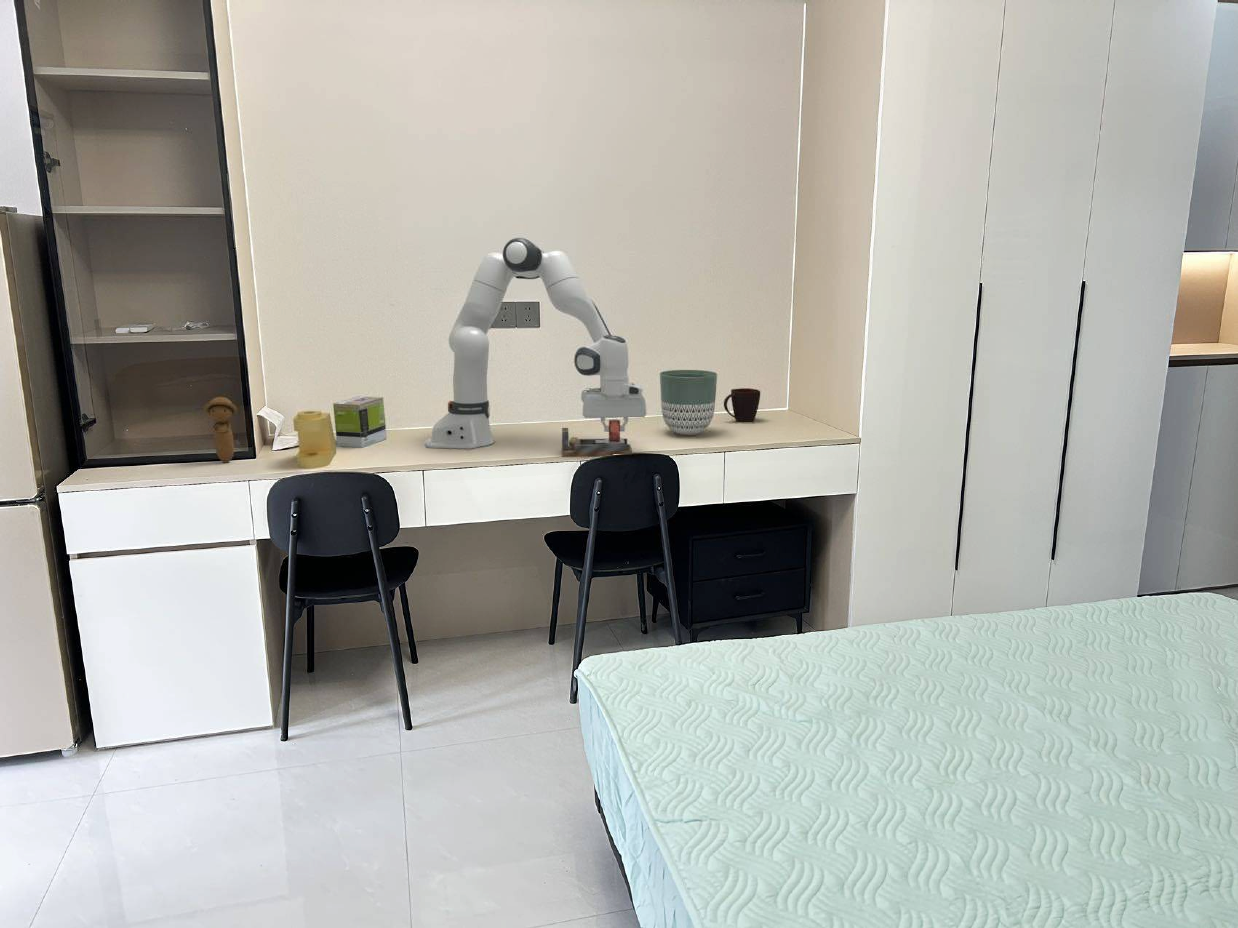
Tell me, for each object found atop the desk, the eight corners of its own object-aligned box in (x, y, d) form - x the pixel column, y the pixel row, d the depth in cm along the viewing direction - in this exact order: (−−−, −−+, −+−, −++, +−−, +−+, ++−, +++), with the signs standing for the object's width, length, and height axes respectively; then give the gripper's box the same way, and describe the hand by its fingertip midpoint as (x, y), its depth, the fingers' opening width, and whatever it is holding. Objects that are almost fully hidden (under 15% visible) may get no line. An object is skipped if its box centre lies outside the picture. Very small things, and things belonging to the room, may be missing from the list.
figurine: (207, 465, 263) (200, 399, 259) (212, 460, 270) (205, 395, 265) (240, 464, 265) (233, 398, 261) (244, 458, 272) (237, 394, 267)
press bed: (562, 456, 275) (562, 433, 273) (562, 449, 285) (561, 427, 283) (632, 455, 276) (632, 432, 275) (630, 448, 286) (630, 426, 284)
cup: (763, 423, 330) (764, 391, 327) (730, 425, 324) (731, 393, 322) (749, 418, 339) (750, 387, 336) (717, 421, 333) (718, 389, 330)
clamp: (327, 468, 261) (323, 414, 257) (294, 469, 259) (290, 415, 255) (336, 453, 280) (332, 403, 276) (306, 454, 278) (301, 404, 275)
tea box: (362, 437, 303) (359, 395, 300) (387, 439, 300) (384, 396, 297) (335, 446, 290) (332, 402, 286) (362, 448, 287) (359, 403, 283)
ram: (596, 450, 277) (595, 422, 275) (595, 445, 283) (595, 418, 281) (624, 449, 277) (624, 422, 275) (623, 445, 284) (623, 418, 282)
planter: (725, 437, 304) (727, 375, 299) (674, 441, 297) (675, 378, 292) (699, 427, 322) (700, 368, 317) (650, 431, 315) (650, 371, 310)
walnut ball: (569, 449, 278) (569, 438, 277) (569, 447, 281) (569, 436, 280) (580, 449, 278) (580, 438, 277) (580, 447, 282) (580, 436, 281)
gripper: (581, 389, 272) (581, 433, 276) (647, 389, 274) (646, 432, 277) (580, 386, 278) (581, 429, 282) (645, 386, 280) (645, 428, 283)
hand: (614, 431), depth 279 cm, fingers closed on ram, 4 cm apart
